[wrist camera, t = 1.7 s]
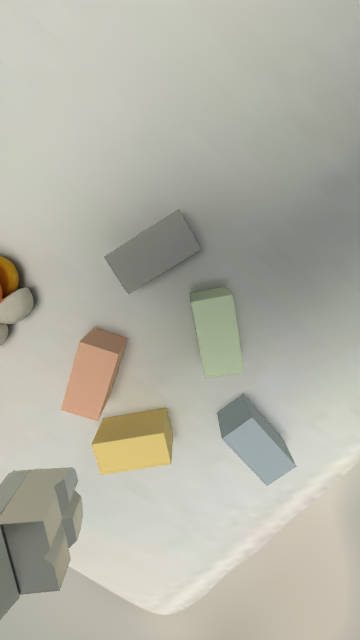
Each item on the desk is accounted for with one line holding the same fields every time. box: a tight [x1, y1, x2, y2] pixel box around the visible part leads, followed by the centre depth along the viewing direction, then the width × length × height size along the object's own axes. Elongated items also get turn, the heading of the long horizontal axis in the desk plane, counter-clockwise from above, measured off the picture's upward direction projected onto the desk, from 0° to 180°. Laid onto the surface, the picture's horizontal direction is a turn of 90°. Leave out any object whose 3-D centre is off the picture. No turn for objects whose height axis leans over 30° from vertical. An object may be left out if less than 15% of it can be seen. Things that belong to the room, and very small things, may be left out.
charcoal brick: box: [104, 209, 201, 294], centre depth 27 cm, size 7×4×4 cm, turn 121°
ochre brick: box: [92, 408, 173, 475], centre depth 32 cm, size 7×4×4 cm, turn 101°
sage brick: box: [190, 286, 244, 378], centre depth 28 cm, size 7×4×4 cm, turn 11°
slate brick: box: [217, 394, 296, 486], centre depth 31 cm, size 7×4×4 cm, turn 41°
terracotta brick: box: [61, 327, 128, 421], centre depth 30 cm, size 7×4×4 cm, turn 161°
